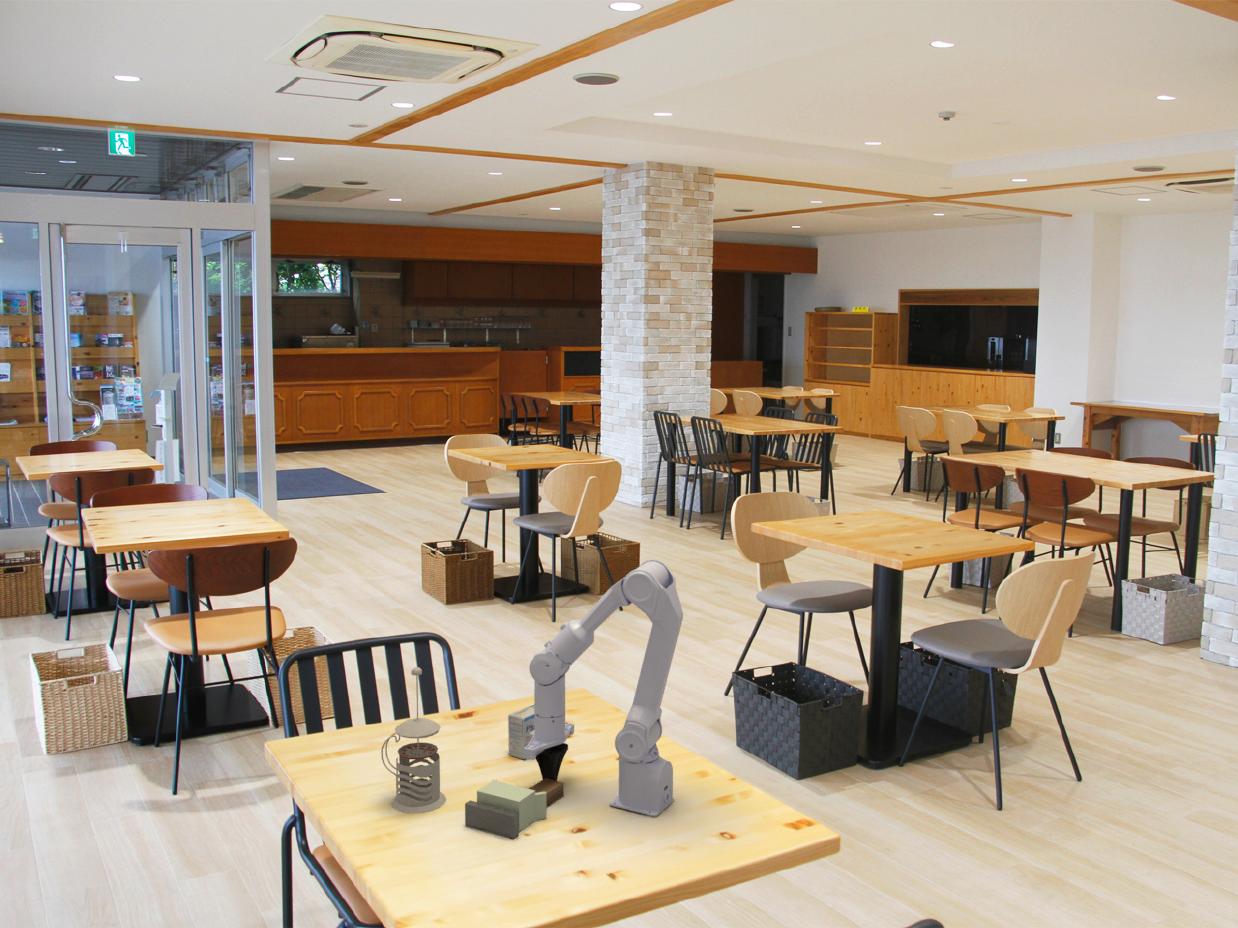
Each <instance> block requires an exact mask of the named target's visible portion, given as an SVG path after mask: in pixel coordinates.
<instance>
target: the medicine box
mask: <svg viewBox="0 0 1238 928" xmlns="http://www.w3.org/2000/svg"><path fill="white" fill-rule="evenodd" d="M507 718H508V719H507V720H508V721H507V722H508V723H507V724H508V725H507V727H508V755H509V756H511V757H515V758H518V759H521V760H524V761H526V760H527V759H526V758H524V748H525V747H526V746H527V745H528V744H529V742H530V740H531V739H532V737H530V733H531V732H532V731H534V704H533V705H530V706H528V707H525V708H523V709H522V708H521V709H520V710H517V711H515V712H512V713H509V714H508V716H507Z"/></svg>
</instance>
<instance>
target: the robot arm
mask: <svg viewBox="0 0 1238 928" xmlns="http://www.w3.org/2000/svg"><path fill="white" fill-rule="evenodd" d="M676 585H677V584H676V576H675V575H674V574H673V573H672V572H671V570H670V569H669V567H668V566H667V565H666V564H665V563H664V562H663V561H660V560H657V559H648V560H646V561H644V562H642V563H641V564H640V565H639V566H638V567H637V568H636V569H633V570H631V571H630V572H629V573H627V574H626V575H625V577H623V578H621V579H619V580H618V581H617V582H616V583H614V584H613V585H612V586H611V587H610V588H609V589H608V590H607V591H606V592H605V593H604V594H603V595H602V596H601V597H600V599H598V601H597V602H596V603H595V604H594V605H593V606H592V607H591V608H590V610H589V611H588V612H587V613H586V614H585V615H584V616H583V617H582V619H571V620H570V621H569V622H568V621H565V622H563V623H562V625H560V626H559V629H560V631H559V632H558V633H557V634H556V635H555V637H553V639H551V640H547V641H546V642H545V643H544V649H543V650H542V651H541V652H539V653H537V654H535V655H533V658H532V659H531V661H530V662H529V663H530V664H529V673H530V676H531V677H532V679H533V680H534V692H533V693H534V695H533V696H534V697H533V699H534V700H533V701H534V704H533V705H534V731H532V732H531V733H530V737H532V739H531V740H530V742H529V744H528V745H527V746H526V747H525V748H524V758H526V760H531V761H534V760H535V761H536V762H537V765H538V768H539V770H540V775H541V779H542V780H543V779H545V778H548V779H552V780H555V781H558V778H559V774H560V770H561V765H562V763H563V760H564V757H565V756H566V753H567V752H568V750H569V744H567V743H565V742H566V741H567V739H568V737H569V736H572V735H574V734H575V723H571V722H566V675H567V674H566V673H567V672H568V671H569V670H570V668H571V666H572V665H573V664H574V663H575V662H576V661H577V660H578V659H579V658H580V657H581V656H582V655H583V654H584V653H585V652H586V651H587V650H588V649H589V648H590V647H591V646H592V645H593V644H594V642H595V632H596V630H597V629H598V628H599V627H600V626H602V624H604V623H605V622H606V620H607V619H609V618H610V617H611V616H612V615H613V614H614V613H615V612H616V611H617V610H618V609H619V608H620V607H629V606H630V605H632V604H633V605H634V606H635V607H636V608H638V609H639V610H640V611H641V612H642V613H644V614H646V617H647V618H648V619H649V620H650V622H651V627H650V632H649V636H648V642H647V644H646V649H645V652H644V656H643V657H644V658H643V661H642V665H641V668H640V671H639V672H640V673H639V676H638V681H637V686H636V688H635V689H636V690H635V691H634V692H635V693H634V698H633V700H632V705H631V707H630V709H629V712H628V714H627V716H626V719H625V720H624V725H623V727H622V729H620V730H619V732H618V733H617V734H616V736H615V740H614V746H615V750H616V753H617V754H618V795H617V796H616V797H614V798H613V799H612V800H611V801H609V803H608V804H609V806H610V807H614V808H618V809H622V810H626V811H630V812H634V813H638V814H643V815H646V816H650V817H655V818H656V817H658V816H659V814H661V813H663V811H664V810H665V809H666V808H667V807H668V806H670V805H671V804H672V803H673V802H674V801H675V797H674V794H673V791H674V767H673V764H672V762H671V761H669V760H666V759H664V758H663V757H662V756H661V755H660V751H659V748H658V745H657V742H658V741H659V740H660V739H661V737H662V733H663V725H662V720H661V717H662V713H663V710H662V708H661V706H662V705H661V704H662V701H663V698H664V694H665V690H666V686H667V682H668V678H669V675H670V670H671V665H672V662H673V658H674V656H675V655H674V654H675V650H676V646H677V644H678V643H677V642H678V639H679V635H680V631H681V627H682V623H683V620H684V613H683V609H682V605H681V602H680V599H679V598H680V597H679V594H678V591H677V588H676V587H677V586H676Z"/></svg>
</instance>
